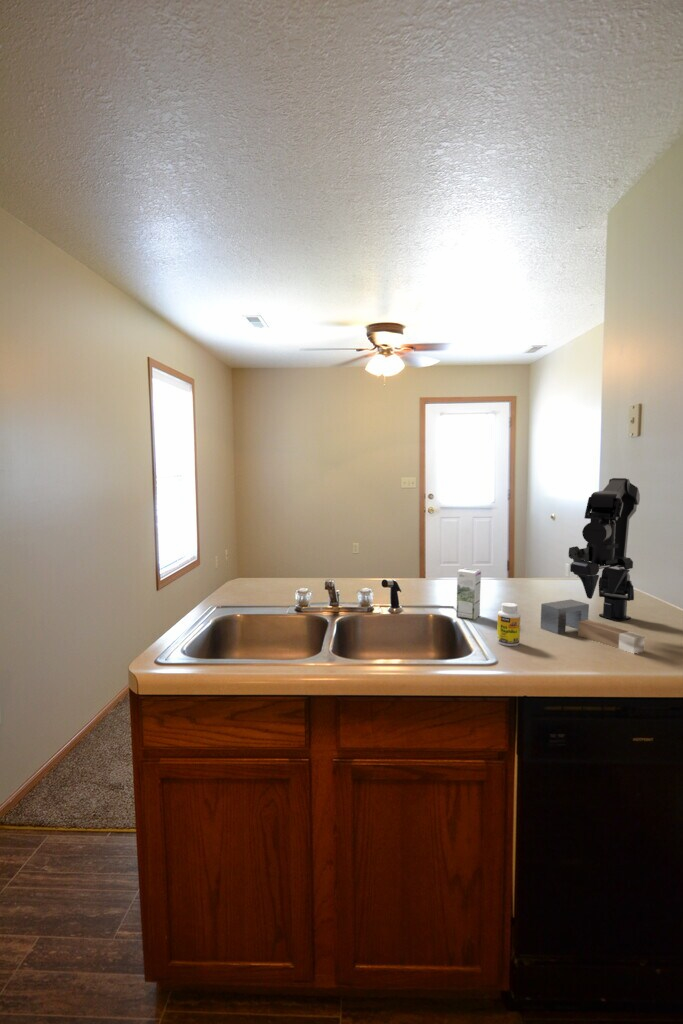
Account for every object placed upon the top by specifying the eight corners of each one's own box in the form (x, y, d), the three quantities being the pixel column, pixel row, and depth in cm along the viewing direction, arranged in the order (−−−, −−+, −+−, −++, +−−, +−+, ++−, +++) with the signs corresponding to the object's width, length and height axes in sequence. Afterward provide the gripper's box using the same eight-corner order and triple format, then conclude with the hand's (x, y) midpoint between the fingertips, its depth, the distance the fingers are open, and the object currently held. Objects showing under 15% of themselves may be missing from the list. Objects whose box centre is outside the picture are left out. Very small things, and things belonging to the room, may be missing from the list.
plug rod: (588, 633, 144) (588, 619, 144) (643, 651, 130) (644, 636, 130) (577, 635, 143) (578, 621, 142) (633, 654, 128) (634, 638, 128)
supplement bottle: (496, 645, 134) (497, 606, 133) (497, 638, 139) (498, 600, 138) (519, 647, 132) (521, 608, 131) (519, 641, 138) (520, 602, 137)
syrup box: (480, 615, 161) (481, 569, 160) (474, 620, 156) (475, 572, 155) (462, 613, 164) (463, 567, 163) (455, 617, 159) (456, 570, 158)
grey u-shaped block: (570, 622, 154) (571, 599, 154) (587, 628, 149) (588, 604, 149) (540, 628, 149) (541, 603, 149) (557, 634, 144) (558, 608, 143)
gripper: (598, 533, 153) (596, 585, 155) (554, 538, 144) (552, 594, 146) (635, 538, 143) (632, 594, 145) (590, 543, 135) (587, 603, 136)
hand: (600, 596), depth 143 cm, fingers open, 9 cm apart
